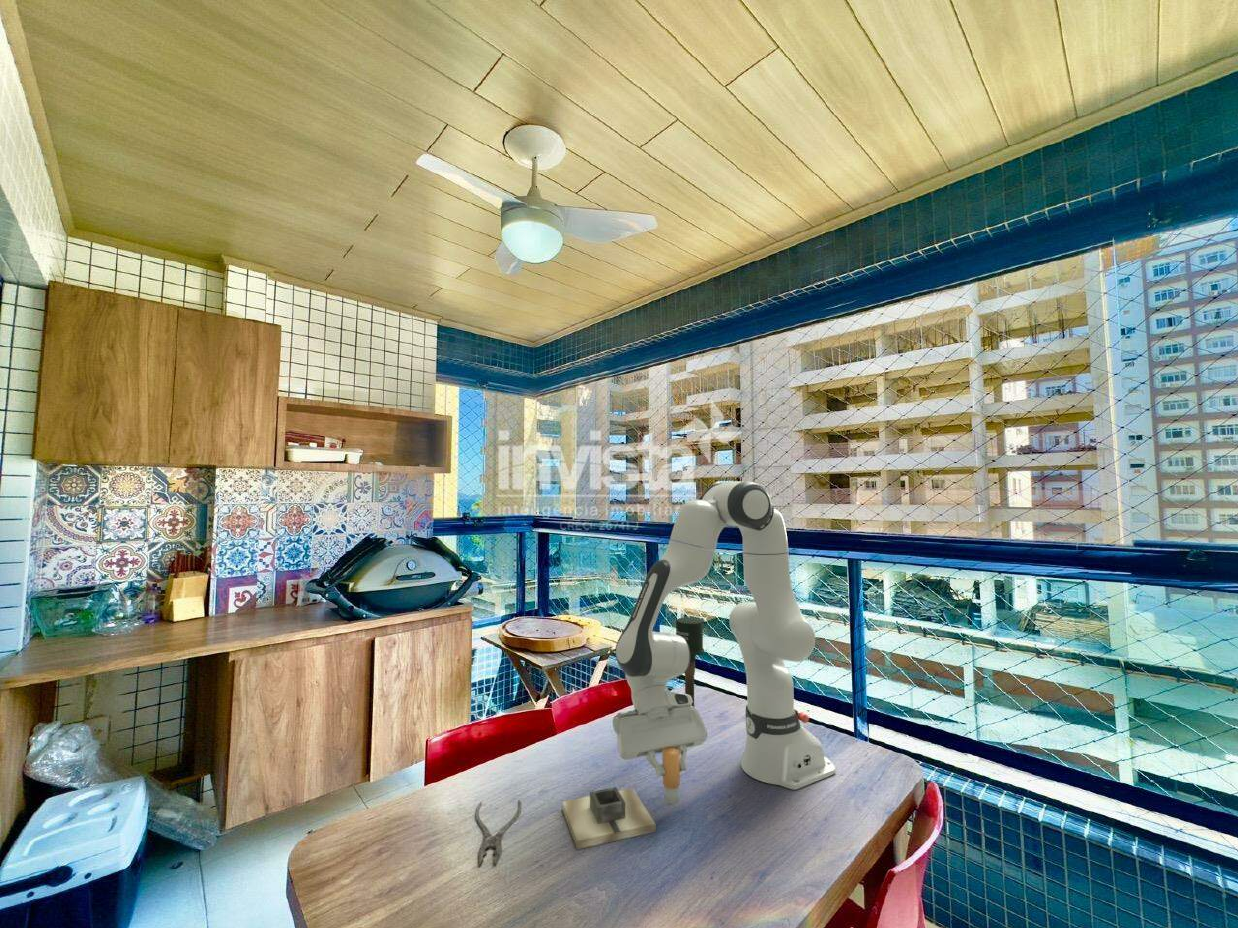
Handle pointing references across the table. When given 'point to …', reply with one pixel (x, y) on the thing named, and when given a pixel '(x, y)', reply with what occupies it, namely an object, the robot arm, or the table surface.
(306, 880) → the table surface
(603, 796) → the cream rectangular base board
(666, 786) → the orange rounded handle
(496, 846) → the pliers
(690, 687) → the stick grenade
